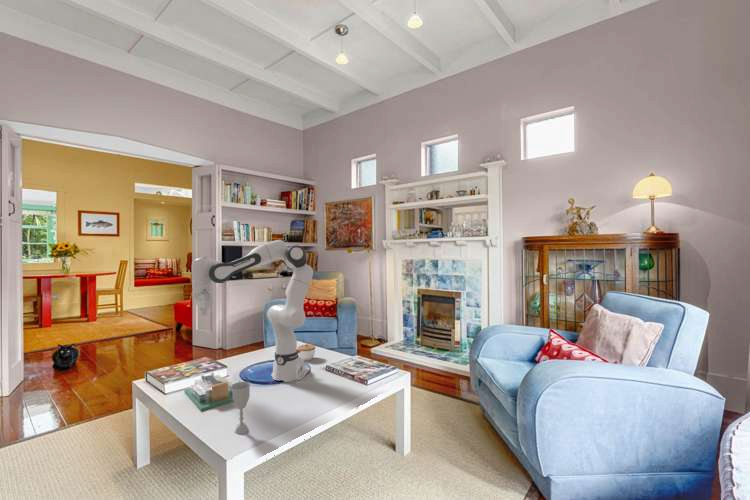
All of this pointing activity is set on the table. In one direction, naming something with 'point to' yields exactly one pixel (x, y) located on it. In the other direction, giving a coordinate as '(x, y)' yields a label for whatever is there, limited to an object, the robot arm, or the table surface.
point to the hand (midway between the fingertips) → (204, 315)
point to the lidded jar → (307, 351)
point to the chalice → (241, 402)
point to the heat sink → (207, 388)
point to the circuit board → (207, 405)
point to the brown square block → (219, 391)
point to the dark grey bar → (211, 380)
